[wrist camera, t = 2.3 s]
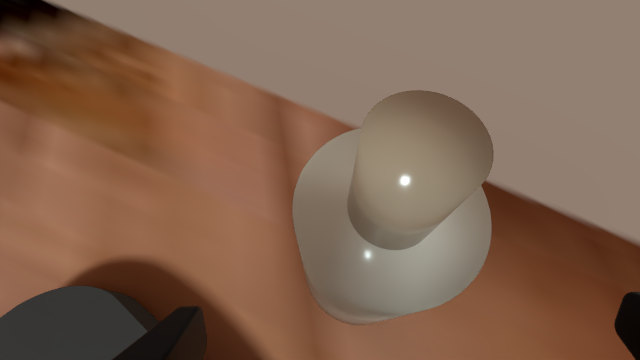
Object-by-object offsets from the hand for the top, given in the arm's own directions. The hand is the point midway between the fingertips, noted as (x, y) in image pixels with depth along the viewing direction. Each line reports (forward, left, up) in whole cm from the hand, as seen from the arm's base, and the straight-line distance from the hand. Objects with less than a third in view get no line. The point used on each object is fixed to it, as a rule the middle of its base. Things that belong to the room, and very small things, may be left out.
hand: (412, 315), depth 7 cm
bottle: (+3, -1, -10) cm, 10 cm away
